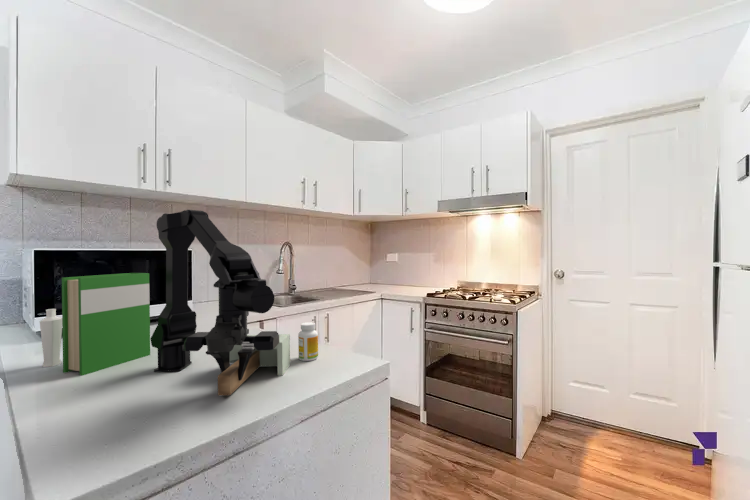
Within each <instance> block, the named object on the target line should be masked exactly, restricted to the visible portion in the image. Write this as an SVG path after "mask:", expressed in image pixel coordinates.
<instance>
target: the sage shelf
mask: <svg viewBox="0 0 750 500" xmlns="http://www.w3.org/2000/svg"><path fill="white" fill-rule="evenodd" d="M278 334H279V333H278ZM256 335H257V334H247V336H256ZM241 349H242V345H234V348H233V350H232V351H230V361H232V360H238V359H239V356H238V352H239V351H240V350H241ZM256 351H260V367H277V376H280V377H281V376H284V374H285V372H286V371H287V370H288V368H289V367H290V365H291V335H290V333H289V334H288V333H287V334H285V333H284V334H279V344H278V345H277V346H276V347H275V348H274V349H273V350H256Z"/></svg>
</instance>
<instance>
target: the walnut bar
mask: <svg viewBox="0 0 750 500" xmlns="http://www.w3.org/2000/svg"><path fill="white" fill-rule="evenodd" d="M260 367H261V366H260V351H255V352H253V353H252V355H251V357H250V359H249V362H248V364H247V367H246V370H245V372H244V375H243V378H242V380H241V381H239V378H238V369H239V360H237V361H236V362H235V363H234V364H232V365H231V366H230V367H228V368H227V369H226V370H225V371H223V372H220V373H219V374H217V396H231V395H232V394H233V393H234V392H235V391H237V389H239V387H240V386H241V385H242V384H243V383H244V382H245V381H246V380H248V379H249V377H250V376H251V375H253V374H254V373H255V371H257V370H258V369H259V368H260Z"/></svg>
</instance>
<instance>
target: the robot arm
mask: <svg viewBox="0 0 750 500" xmlns="http://www.w3.org/2000/svg"><path fill="white" fill-rule="evenodd" d="M156 230H157V232H158V239H159V241H160V242H161V244H162V245H163V246H164V248H165V256H166V257H165V306H164V308H162V311H161V312H160V314H159V315H158V318H157V320H158V321H157V325H156V327H155V329H154V330H153V333H152V334H151V335H150V346H151V347H152V348H156V349H157V367H156V368H155V369H153V371H154V372H155V373H156V372H157V373H158V372H180V371H182V370H184V369H185V368H186V367H188V366H189V365H192V360H191V352H199V351H200V350H201V349H202V348H203V346H206V347H207V348H206V349H207V351H205V354H206V355H207V356H208V355H209V356H212V357H213V358H214V359H215V362H216V363H217V366H218V367H219V369H220V373H222V372H223V371H225V370H226V369H227V368H228V367H230V351H232V350H233V348H234V345H242V349H241V350H240V351H239V352H238V356H239V369H238V378H239V381H241V380H242V378H243V375H244V372H245V370H246V367H247V364H248V362H249V359H250V357H251V355H252V353H253V352H255V351H256V350H273V349H274V348H275V347H276V346H277V345H278V344H279V332H277V331H276V330H272V331H271V330H269V331H268V330H265V331H260V332H259V333H257V334H255V335H256V336H247V335H250V334H249V331H250V329H249V328H248V317H249V316H250V315H249V313H254V314H255V313H256V314H266V313H267V312H269V311H271V308H272V307H273V306H274V304H275V294H274V292H273V290H272V288H271V287H270V286H269V285H267V280H266V279H265V278H264V279H263V278H261V276H260V272H258V270H257V268H256V266H255V263H254V262H253V259H252V257H251V255H250V253H248V252H247V251H246V250H245V249H243V248H242V247H241V246H239V245H237V244H235V243H232V242H230V241H229V240H228V239H227V238H226V237H225V235H224V234H223V233H222V232H221V231H220V229H218V227H217V226H216V225H215V224H214V223H213V221H212V220H211V219H210V218H209V214H208V213H207V212H206V211H204V210H197V209H185V210H182V211H179V212H172V213H167V212H165V213H163V214H162V215H161V216H159V217H158V218H157V219H156ZM195 240H197V241H199V243H200V245H201V246H202V247H203V248H204V249H205V251H206V252H207V253H208V255H209V262H208V263H209V266H210V268H211V270H212V271H213V274H214V275H215V276H216V278H218V280H217V281H215V282H214V283H213V285H212V286H213V288H218V315H216V316H215V317H216V318H215V323H214V326H213V327H211V329H210V331H197V313H196V311H194V310H192V309H191V307H190V306H189V297H188V296H189V248H190V247H191V245H192V243H193V242H194V241H195ZM196 331H197V332H196Z"/></svg>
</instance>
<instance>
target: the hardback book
mask: <svg viewBox="0 0 750 500" xmlns="http://www.w3.org/2000/svg"><path fill="white" fill-rule="evenodd" d="M150 296H151V295H150V273H148V272H147V273H146V272H129V273H127V272H126V273H111V274H109V273H108V274H98V275H97V274H96V275H84V276H83V275H82V276H81V275H79V276H69V277H68V276H67V277H61V316H62V317H61V318H62V373H65V374H66V373H69V372H73V371H75V372H76V371H77V372H78V373H79V376H86V375H88V374H93V373H95V372H99V371H102V370H105V369H109V368H113V367H115V366H119V365H122V364H125V363H129V362H133V361H134V360H138V359H142V358H144V357H147V356H151V313H150V312H151V308H150V307H151V306H150V301H151V300H150Z"/></svg>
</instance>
